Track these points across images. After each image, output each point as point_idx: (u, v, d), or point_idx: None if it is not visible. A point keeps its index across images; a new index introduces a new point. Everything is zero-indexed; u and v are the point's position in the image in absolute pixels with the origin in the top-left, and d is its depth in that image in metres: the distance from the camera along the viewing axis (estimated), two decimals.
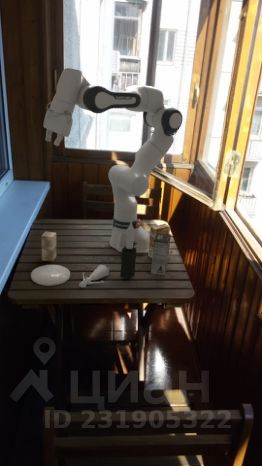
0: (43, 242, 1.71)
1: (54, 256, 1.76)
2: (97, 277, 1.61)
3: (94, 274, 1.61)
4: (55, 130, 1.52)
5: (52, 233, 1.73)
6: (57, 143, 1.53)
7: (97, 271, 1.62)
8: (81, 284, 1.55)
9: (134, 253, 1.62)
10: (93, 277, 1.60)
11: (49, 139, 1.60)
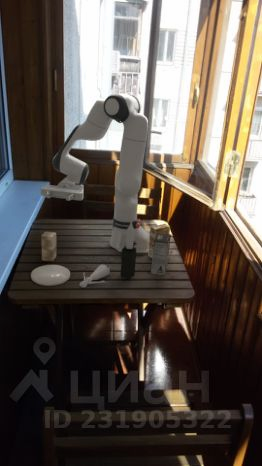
0: (43, 242, 1.71)
1: (54, 256, 1.76)
2: (98, 277, 1.61)
3: (95, 274, 1.61)
4: None
5: (52, 233, 1.73)
6: None
7: (98, 271, 1.62)
8: (82, 284, 1.55)
9: (134, 253, 1.62)
10: (94, 277, 1.60)
11: None
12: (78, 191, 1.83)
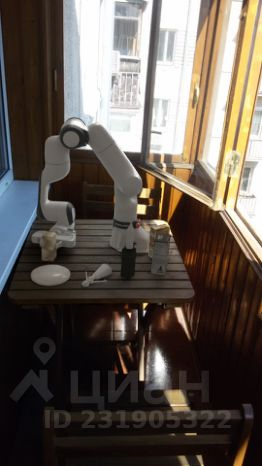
0: (43, 242, 1.71)
1: (54, 256, 1.76)
2: (100, 276, 1.62)
3: (97, 273, 1.61)
4: None
5: (52, 233, 1.73)
6: None
7: (100, 270, 1.63)
8: (84, 283, 1.55)
9: (134, 253, 1.62)
10: (96, 276, 1.60)
11: None
12: (70, 238, 1.78)
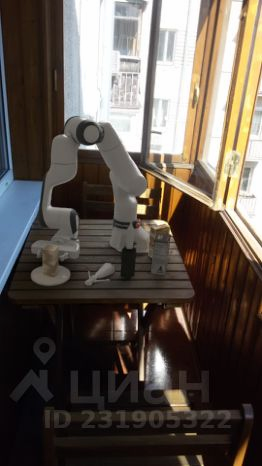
0: (44, 256, 1.56)
1: (56, 271, 1.61)
2: (103, 275, 1.62)
3: (100, 272, 1.62)
4: None
5: (54, 246, 1.58)
6: None
7: (103, 269, 1.64)
8: (87, 282, 1.56)
9: (134, 253, 1.62)
10: (99, 275, 1.61)
11: None
12: (73, 248, 1.63)
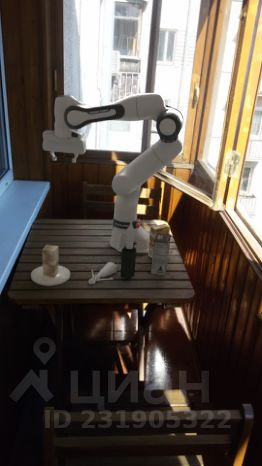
0: (44, 256, 1.56)
1: (56, 271, 1.61)
2: (106, 274, 1.64)
3: (103, 271, 1.63)
4: None
5: (54, 246, 1.58)
6: None
7: (106, 268, 1.65)
8: (90, 281, 1.57)
9: (134, 253, 1.62)
10: (102, 274, 1.62)
11: None
12: (79, 148, 1.79)
